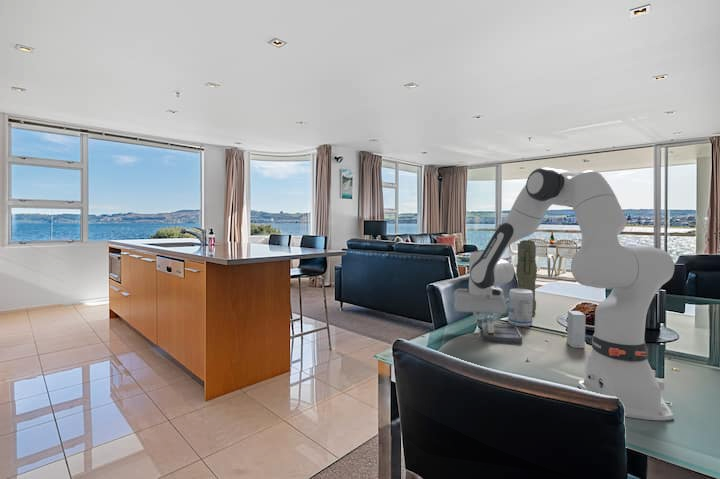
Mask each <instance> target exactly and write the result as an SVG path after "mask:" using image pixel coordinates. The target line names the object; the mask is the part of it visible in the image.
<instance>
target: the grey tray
mask: <svg viewBox="0 0 720 479" xmlns="http://www.w3.org/2000/svg"><path fill="white" fill-rule="evenodd" d="M493 323H494V322H493ZM487 329H488V325H487V322H484V321H483V323H481V330H482V335H483V338H484V339H483V340H484V342H491V343H503V344H516V345H519V344H520V345H523V335H522V333H521V332H520V331H519V328H518V326H516V325H515V323H513V325H512V324H510V323H494V333H488V330H487Z"/></svg>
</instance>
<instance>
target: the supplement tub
mask: <svg viewBox="0 0 720 479" xmlns="http://www.w3.org/2000/svg"><path fill="white" fill-rule="evenodd" d="M532 311H533V291H531V290H527V289H517V288H511V289H509V294H508V316H507V319H508V320H507V321H508V324H511V325H513V323H515V325H516V326H517V327H525V328H526V327H530V326H531V325H532V324H533V316H532Z"/></svg>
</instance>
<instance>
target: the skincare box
mask: <svg viewBox="0 0 720 479" xmlns="http://www.w3.org/2000/svg"><path fill="white" fill-rule="evenodd" d="M586 316H587V315H586V314H584V313H582V312H581V311H580V310H567V326H566V329H567V330H566V343H567V344H568V345H569V346H570V347H571V348H574V349H575V348H578V349H579V348H580V349H585V347H586V345H585V344H586V321H587V320H586V319H587V318H586Z"/></svg>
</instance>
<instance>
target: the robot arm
mask: <svg viewBox="0 0 720 479" xmlns="http://www.w3.org/2000/svg"><path fill="white" fill-rule="evenodd" d="M552 205H554V206H560V207H562V206H563V207H569V208H572V211H573V212H574V215H575V217H576V221H577V223H578V226H579V228H580V229H579V230H580V232H581V245H580V248H579V249H578V250H577V252H576V253H575V254H574V255H573V257H572V258H571V262H570V271H571V274H572V276H573V278H574V279H575V281H576V282H577V283H578V284H579V285H582V286H586V287H590V288H595V289H596V288H597V289H612V290H611V292H610V293H609V295H608V296H607V297H606V298H605V299H604V300H602V301H601V302H600V303H598V304H597V306H596V307H595V312H594V333H593V334H592V336H591V337H592V339H591V348H592V350H591V351H590V352H589V353H588V355H587V356H585V363H584V372H583V373H584V374H583V379H581V380H579V381H577V387H579V388H580V389H581V390H582V389H584V390H588V391H592V392H596V393H600V394H605V395H610V396H616V397H618V398H620V400H621V401H622V402H623V404H624V406H625V413H626V415H625V416H624V417H628V418H632V419H633V418H634V419H639V420H640V419H642V420H650V421H670V420H673V419H674V413H673V412H672V411H671V409H670V407H669V405H668V404H667V403H666V401H665V399H664V398H663V397H662V391H664V390H665V382H664V381H663V380H659V379H657V378H656V375H657V373H656V370H654V369H652V367H651V365H650V363H649V361H648V358H649V355H648V347H647V343H646V341H645V336H646V335H645V332H646V322H647V314H648V310H649V307H650V305H651V303H652V301H653V299H654V297H655V295H656V294H657V292H658V290H660V288H661V287H663V285H665V284H666V283H668V282H669V281H670V280H671V279H672V278H673V275H674V273H675V263H674V259H673V258H672V256H671V255H670V254H669V253H668V252H667V251H666V250H664V249H662V248H657V247H653V246H652V247H651V246H647V245H622V244H621V243H620V242H619V237H618V236H619V234H621V233H622V232H623V231H624V230H625V228H626V226H627V222H628V220H627V217H626V215H625V213H624V211H623V209H622V207H621V205H620V203H619V201H618V197H617V196H616V194H615V192H614V190H613V189H612V186H610V184H609V183H608V181H607V180H606V179H605V177H604V176H603V174H601V173H599V172H598V171H595V170H585V171H582V172H579V173H574V172H571V171H568V170H565V169H558V168H557V169H556V168H551V167H540V168H536V169H534V170H533V171H532V172H531V173H530V174H529V175H528V178H527V180H526V184H525V185H524V186H523V188H522V189H521V190H520V192H519V193H518V195H517V197H516V199H515V200H514V202H513V205H512V206H511V209H510V210H509V212H508V214H507V215H506V217H505V219H504V221H503V222H502V223H501V224H500V225H499V226H498V227H497V229H496V230H495V232H494V234H493V235H492V236H491V238H490V239H489V242H488V243H487V245H486V247H485V248H484V249H481V250H474V251H471V253H470V256H469V262H468V263H469V264H468V273H469V278H468V279H469V280H468V288H457V289H455V290H454V291H453V299H454V304H453V305H454V308H453V309H454V310H455V311H456V312H460V313H461V312H462V313H463V312H465V313H472V314H473V317H474V318H475V323H476V324H482V323H483V322H484V320H485V318H486V317H487V314H502V315H504V314H506V313H507V302H506V299H505V297H504V290H503V288H501V287H498V286H502V285H507V284H510V283H511V282H512V281H513V279H514V277H515V268H514V266H513V264H512V263H511V262H510V261H509V260H506V259H502V257H503V255H504V254H505V251H506V250H507V248H509V247H510V246H511V245H512V244H514V243H515V242H517V241H521V239H522V240H523V239H524V238H527V237H529V236H531V235H533V234H534V233H535V232H536V231H537V230H538V229H539V227H540V226H541V225H542V222H543V219H544V218H545V217H546V213H547V212H548V210H549V208H550V207H551V206H552ZM478 313H481V314H482V317H477V316H478Z"/></svg>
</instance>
